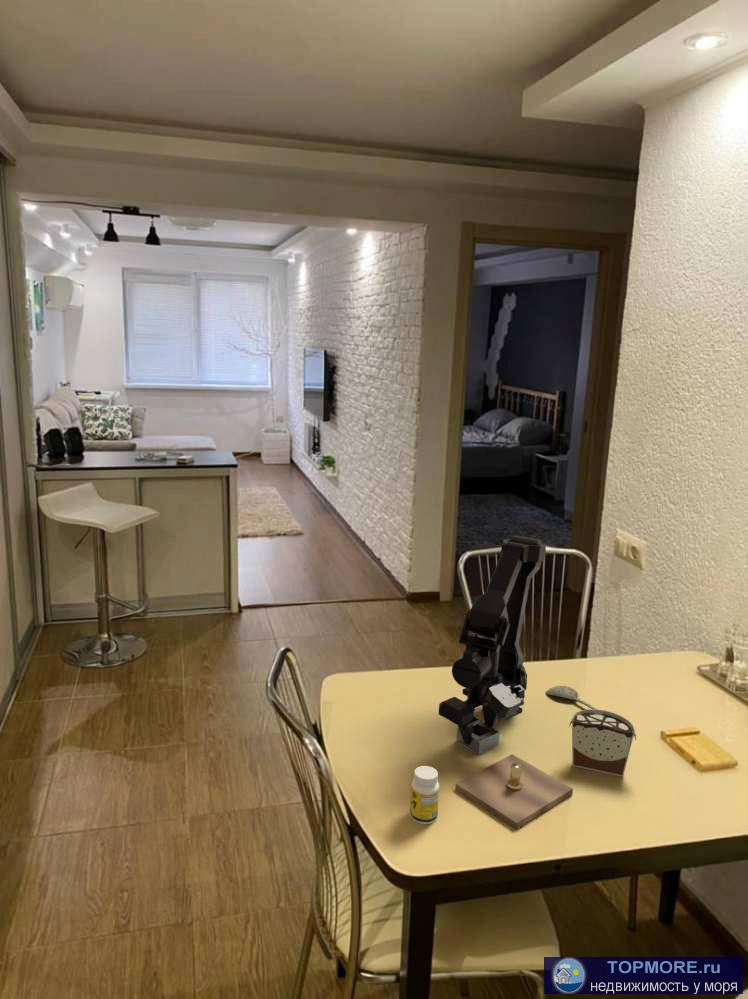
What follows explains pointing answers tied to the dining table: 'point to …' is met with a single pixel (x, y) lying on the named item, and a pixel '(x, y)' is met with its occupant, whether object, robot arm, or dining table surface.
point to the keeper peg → (515, 777)
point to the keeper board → (510, 804)
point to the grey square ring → (480, 738)
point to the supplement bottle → (424, 795)
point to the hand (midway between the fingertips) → (477, 738)
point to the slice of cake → (601, 741)
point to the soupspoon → (567, 694)
